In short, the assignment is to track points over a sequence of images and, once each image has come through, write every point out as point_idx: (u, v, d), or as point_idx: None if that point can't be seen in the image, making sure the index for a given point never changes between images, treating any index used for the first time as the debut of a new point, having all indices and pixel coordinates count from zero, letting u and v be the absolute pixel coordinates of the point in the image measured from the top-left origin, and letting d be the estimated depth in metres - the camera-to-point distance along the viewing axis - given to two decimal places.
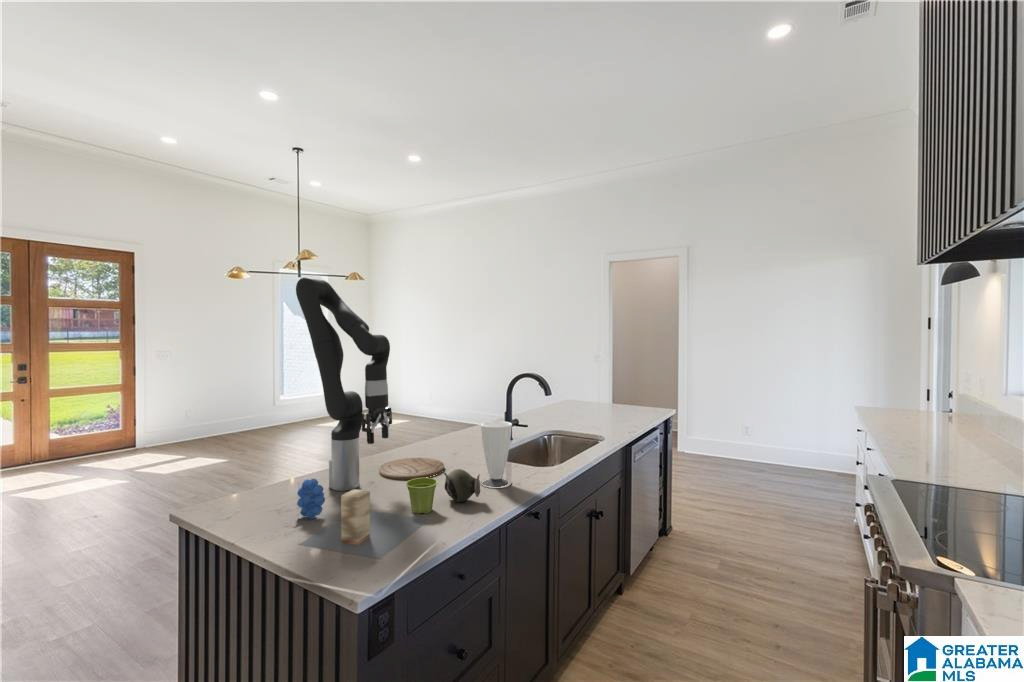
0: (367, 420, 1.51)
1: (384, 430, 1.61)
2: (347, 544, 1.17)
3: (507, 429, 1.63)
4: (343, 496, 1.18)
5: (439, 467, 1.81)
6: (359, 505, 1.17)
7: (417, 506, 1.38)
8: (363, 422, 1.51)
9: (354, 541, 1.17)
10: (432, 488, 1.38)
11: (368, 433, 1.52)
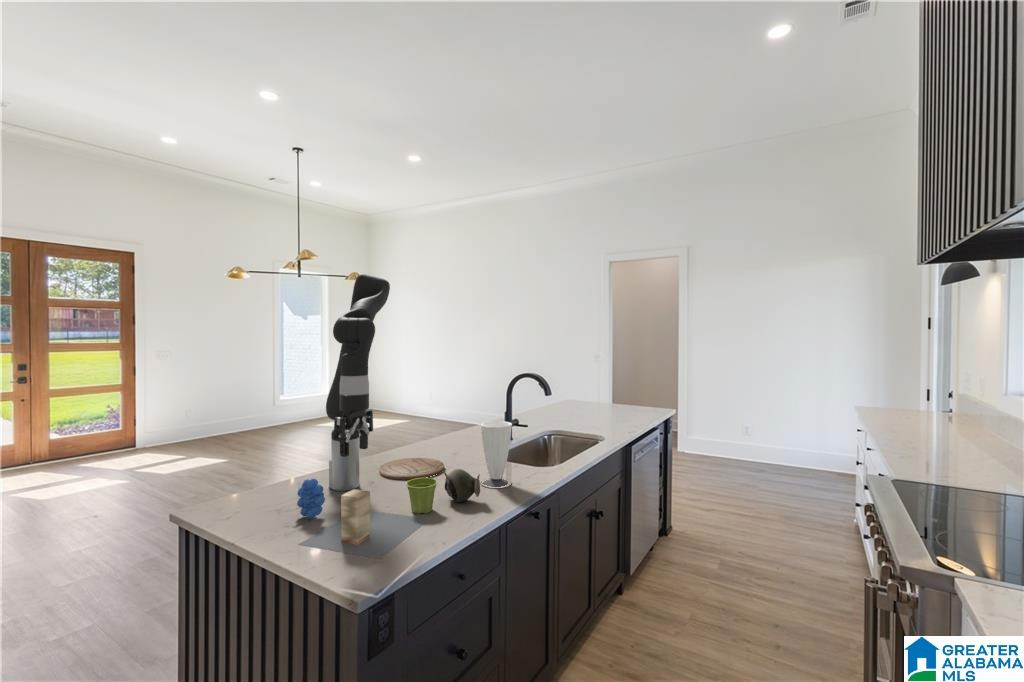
0: (341, 426, 1.17)
1: (362, 439, 1.28)
2: (347, 544, 1.17)
3: (507, 429, 1.63)
4: (343, 496, 1.18)
5: (439, 467, 1.81)
6: (359, 505, 1.17)
7: (417, 506, 1.38)
8: (336, 429, 1.18)
9: (354, 541, 1.17)
10: (432, 488, 1.38)
11: (342, 443, 1.19)
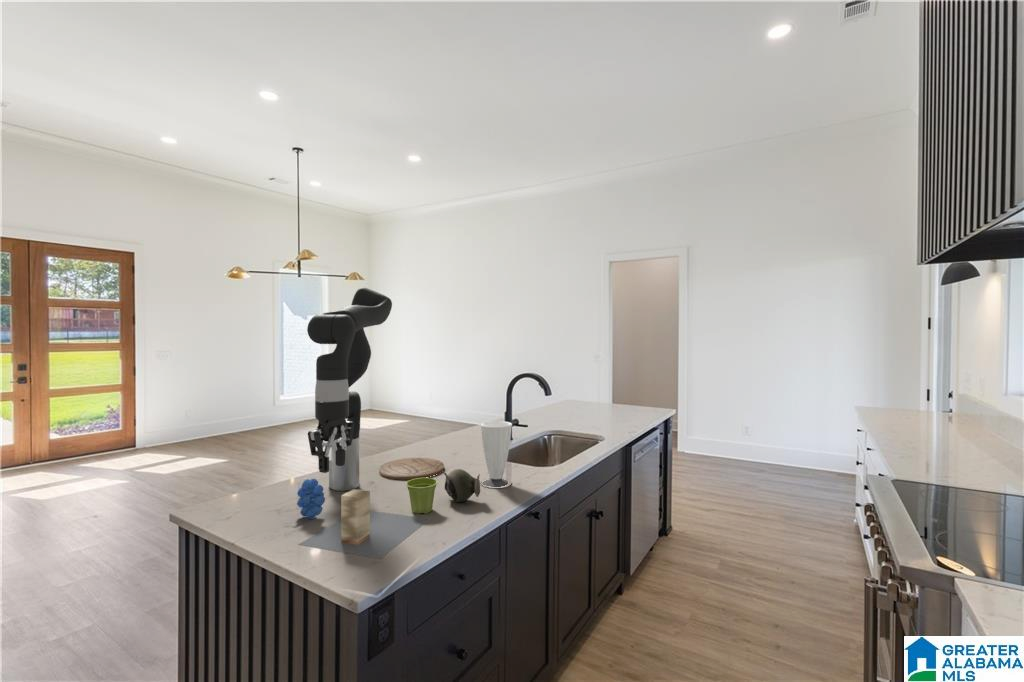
0: (316, 441, 1.04)
1: (339, 454, 1.13)
2: (347, 544, 1.17)
3: (507, 429, 1.63)
4: (343, 496, 1.18)
5: (439, 467, 1.81)
6: (359, 505, 1.17)
7: (417, 506, 1.38)
8: (311, 444, 1.05)
9: (354, 541, 1.17)
10: (432, 488, 1.38)
11: (320, 458, 1.07)
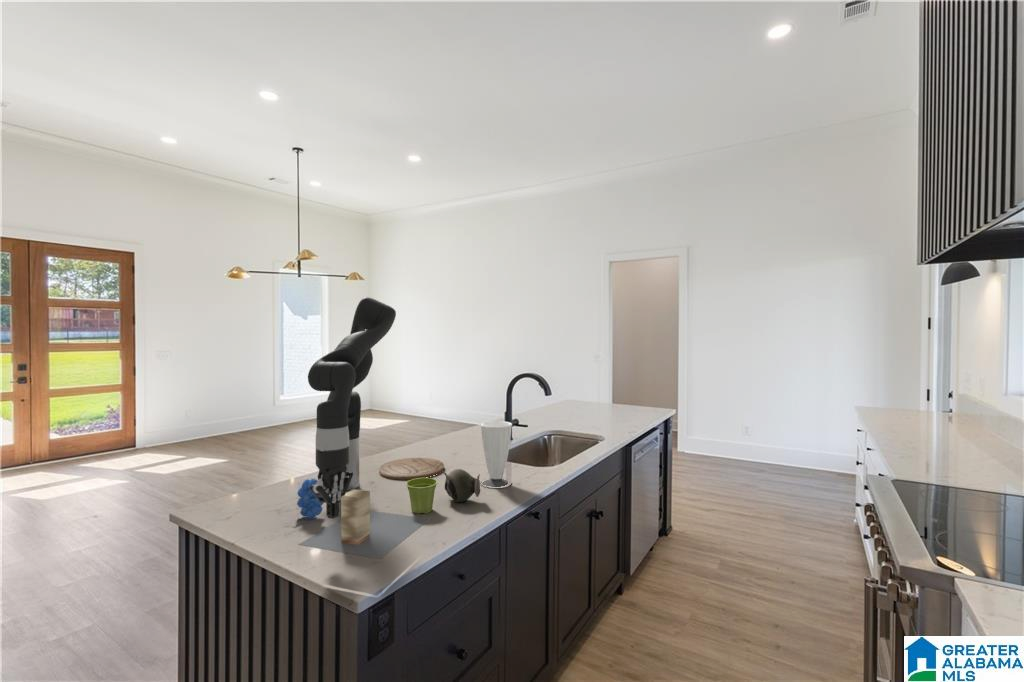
0: (321, 494, 1.06)
1: None
2: (347, 544, 1.17)
3: (507, 429, 1.63)
4: (343, 496, 1.18)
5: (439, 467, 1.81)
6: (359, 505, 1.17)
7: (417, 506, 1.38)
8: (317, 495, 1.07)
9: (354, 541, 1.17)
10: (432, 488, 1.38)
11: (328, 504, 1.10)
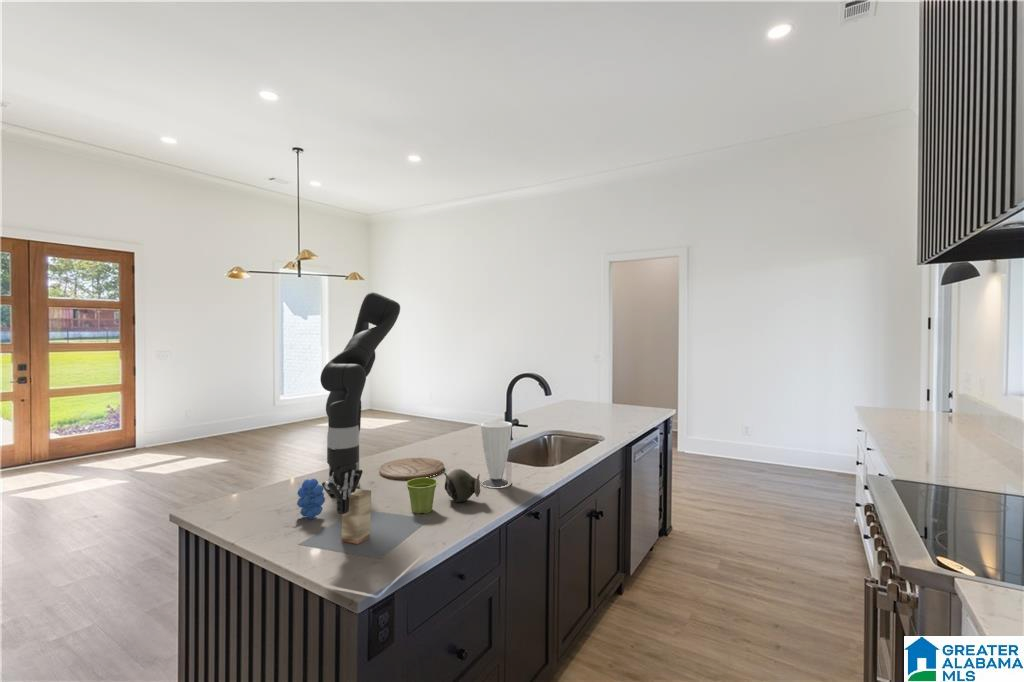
0: (332, 491, 1.10)
1: None
2: (347, 544, 1.17)
3: (507, 429, 1.63)
4: None
5: (439, 467, 1.81)
6: (360, 504, 1.18)
7: (417, 506, 1.38)
8: (328, 492, 1.11)
9: (354, 539, 1.17)
10: (432, 488, 1.38)
11: (339, 500, 1.14)
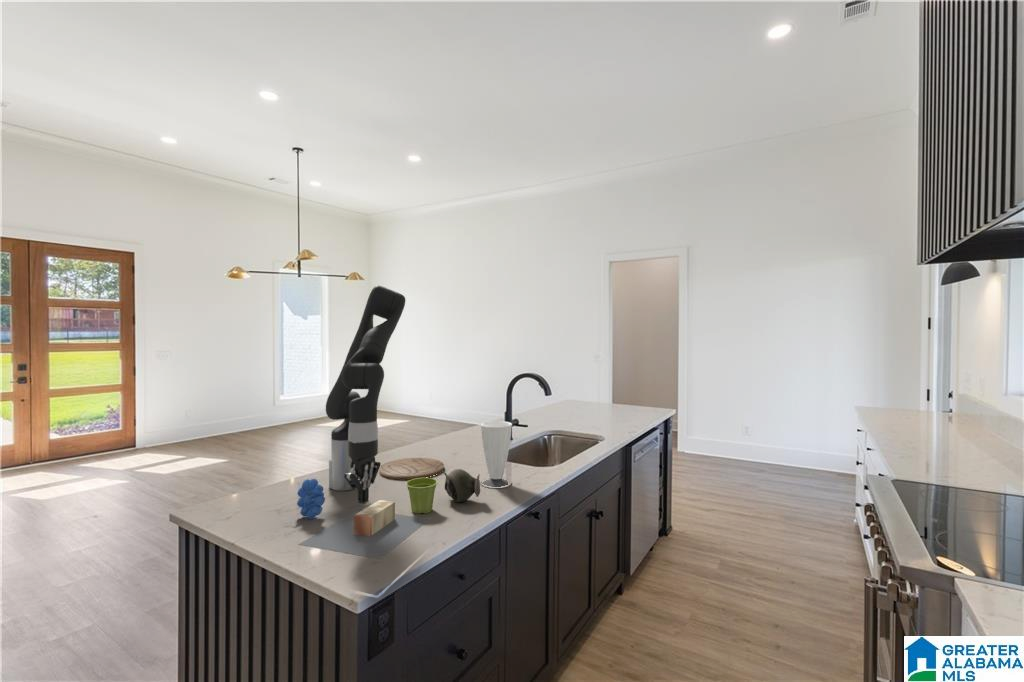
0: (354, 482, 1.18)
1: None
2: (347, 544, 1.17)
3: (507, 429, 1.63)
4: (381, 500, 1.34)
5: (439, 467, 1.81)
6: (390, 506, 1.31)
7: (417, 506, 1.38)
8: (350, 483, 1.19)
9: (368, 516, 1.22)
10: (432, 488, 1.38)
11: (359, 490, 1.22)
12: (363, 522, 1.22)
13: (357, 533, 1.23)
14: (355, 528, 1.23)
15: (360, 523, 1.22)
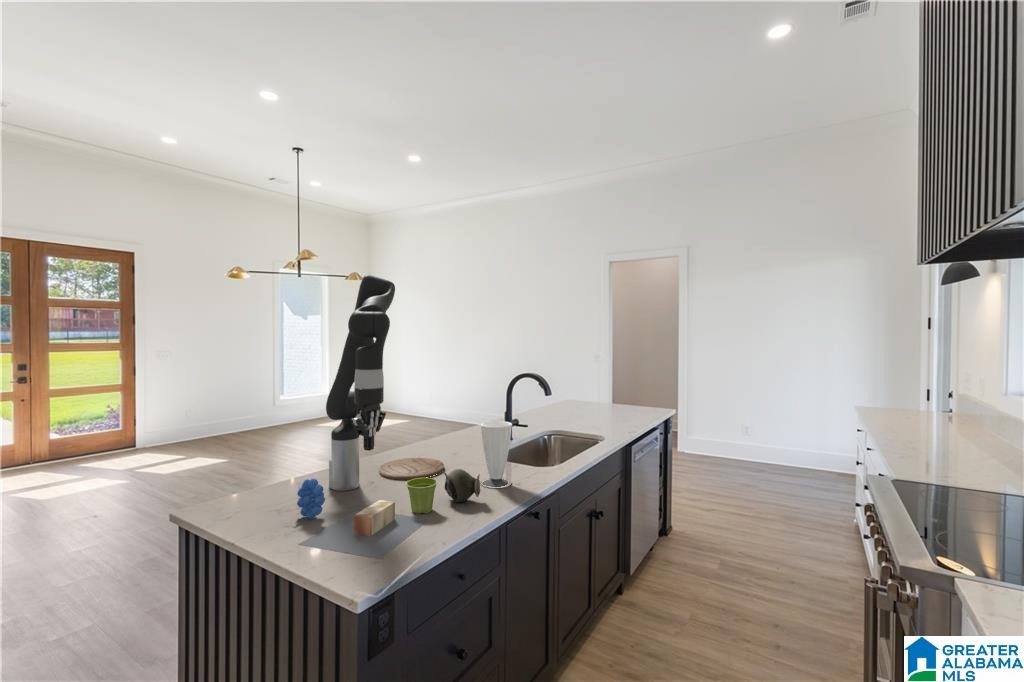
0: (360, 427, 1.20)
1: None
2: (347, 544, 1.17)
3: (507, 429, 1.63)
4: (381, 500, 1.34)
5: (439, 467, 1.81)
6: (390, 506, 1.31)
7: (417, 506, 1.38)
8: (356, 428, 1.21)
9: (368, 516, 1.22)
10: (432, 488, 1.38)
11: (365, 437, 1.24)
12: (363, 522, 1.22)
13: (357, 533, 1.23)
14: (355, 528, 1.23)
15: (360, 523, 1.22)
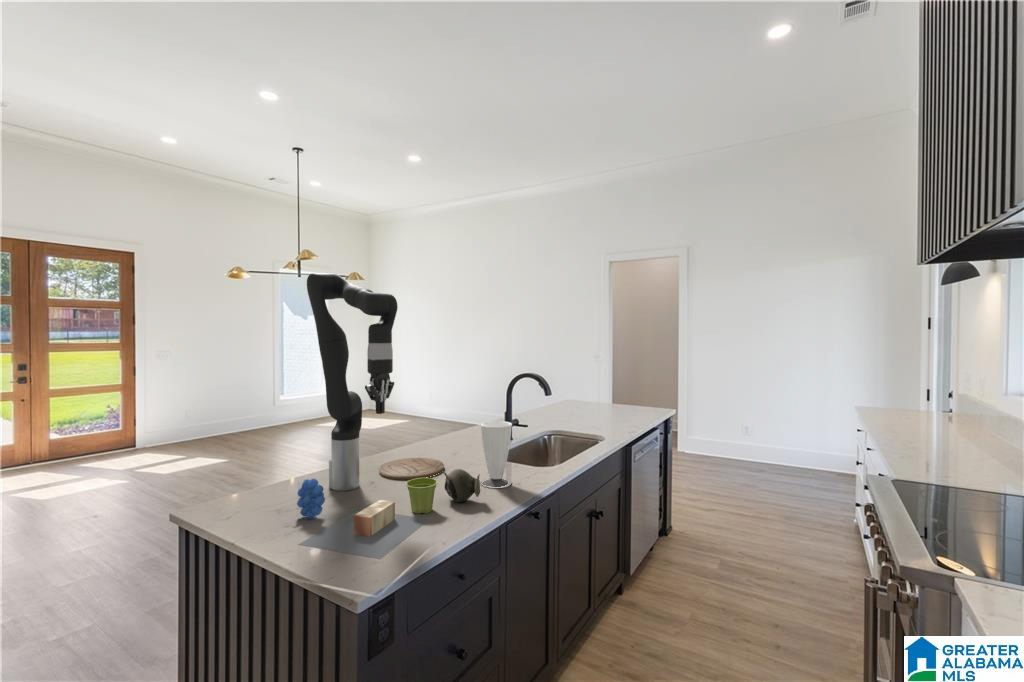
0: (373, 392, 1.38)
1: None
2: (347, 544, 1.17)
3: (507, 429, 1.63)
4: (381, 500, 1.34)
5: (439, 467, 1.81)
6: (390, 506, 1.31)
7: (417, 506, 1.38)
8: (369, 394, 1.39)
9: (368, 516, 1.22)
10: (432, 488, 1.38)
11: (377, 402, 1.42)
12: (363, 522, 1.22)
13: (357, 533, 1.23)
14: (355, 528, 1.23)
15: (360, 523, 1.22)
